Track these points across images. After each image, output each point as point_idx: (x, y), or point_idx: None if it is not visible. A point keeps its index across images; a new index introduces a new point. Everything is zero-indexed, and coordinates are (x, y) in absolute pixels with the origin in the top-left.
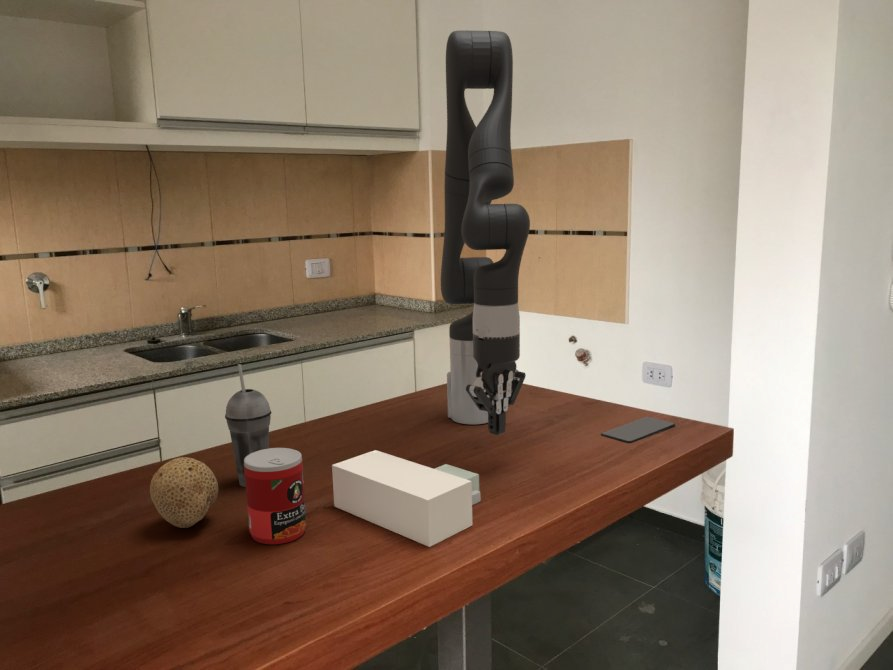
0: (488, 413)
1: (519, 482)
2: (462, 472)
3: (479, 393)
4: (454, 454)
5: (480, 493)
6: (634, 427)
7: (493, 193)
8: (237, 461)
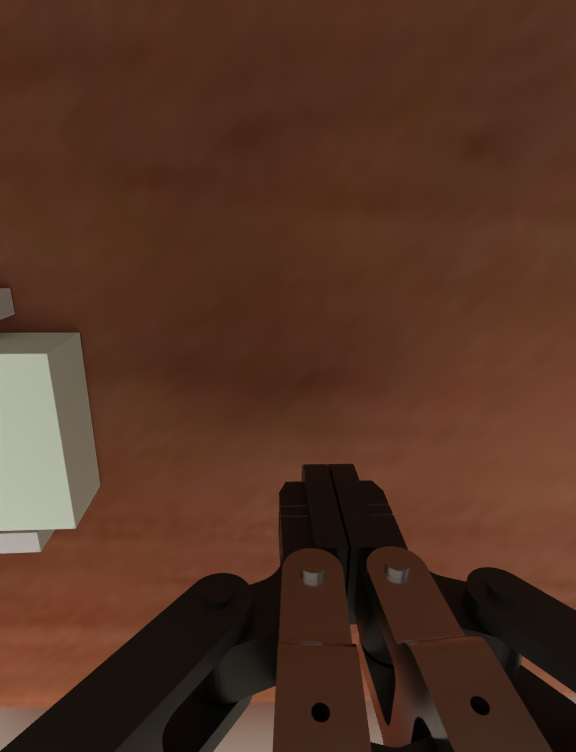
0: (282, 565)
1: (264, 519)
2: (36, 473)
3: None
4: (346, 120)
5: (43, 547)
6: None
7: None
8: None
